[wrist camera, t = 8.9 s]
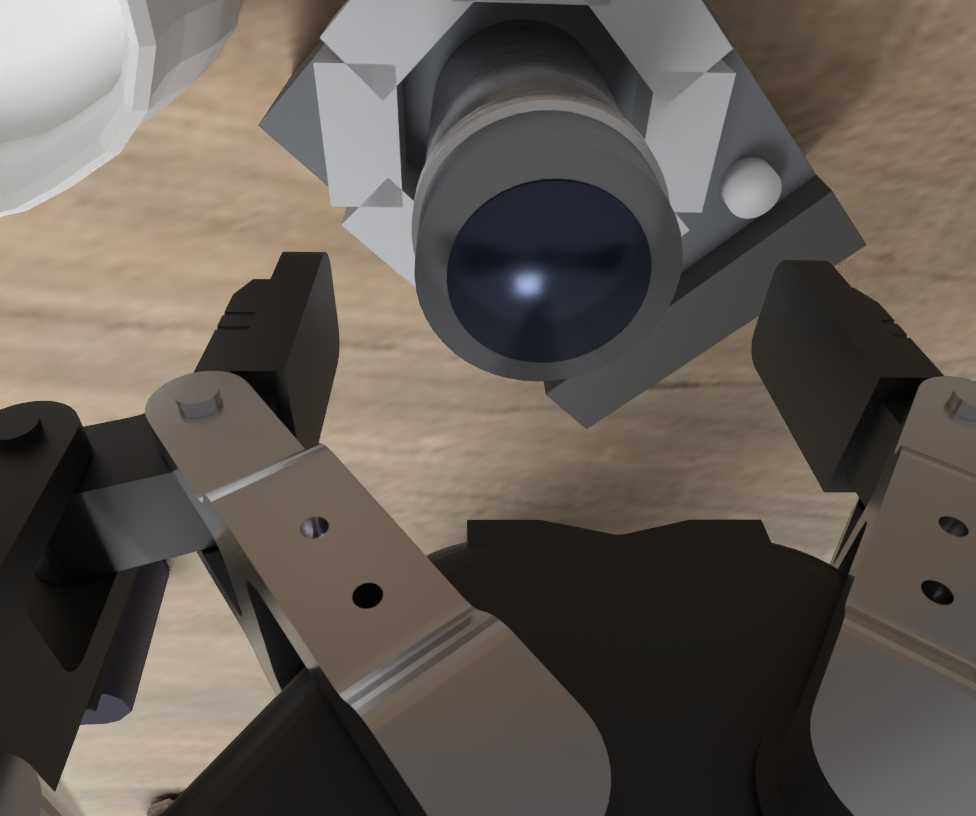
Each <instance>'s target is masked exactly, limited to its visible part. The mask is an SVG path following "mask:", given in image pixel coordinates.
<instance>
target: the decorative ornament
mask: <svg viewBox="0 0 976 816" xmlns="http://www.w3.org/2000/svg"><path fill="white" fill-rule="evenodd" d="M174 801H175V800H171V799H166V800H163V801H160V802H157V803H154V804H152V805H151V808H149V809H148V812H147V816H160V815H161V814H162V813H163V812H164V811H165V810H166V809H167V808H168V807H169V806H170V805H171V804H172V803H173V802H174Z"/></svg>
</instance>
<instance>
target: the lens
mask: <svg viewBox="0 0 976 816" xmlns="http://www.w3.org/2000/svg"><path fill="white" fill-rule="evenodd" d="M411 235H412V243H413V251H414V254H415V274H414V276H415V284H416V291H417V295H418V299H419V302H420V306H421V308H422V310H423V313H424V315H425V317H426V319H427V321H428V322H429V324H430V326H431V327H432V329H433V331H434V332H435V333H436V334H437V336H438V337H439V338H440V339H441V340H442V342H443V343H444V344H445V345H446V346H447V347H449V348H450V349H451V350H452V351H453V352H454V353H455V354H457V355H458V356H460V357H461V358H462V359H464V360H465V361H467V362H468V363H470V364H472V365H474V366H476V367H478V368H480V369H482V370H485V371H487V372H489V373H492V374H495V375H499V376H502V377H506V378H511V379H517V380H523V381H554V380H561V379H568V378H572V377H576V376H580V375H584V374H587V373H590V372H592V371H595V370H598V369H600V368H602V367H604V366H606V365H608V364H610V363H613V362H614V361H616V360H617V359H619V358H621V357H622V356H624V355H626V354H627V353H628V352H630V351H631V350H632V349H633V348H635V347H636V346H637V345H639V344H640V343H641V342H642V341H643V340H644V339H645V338H646V337H647V336H648V335H649V334H650V333H651V332H652V330H653V329H654V328H655V327H656V326H657V324H658V323H659V322H660V320H661V319H662V317H663V316H664V314H665V313H666V311H667V309H668V308H669V306H670V304H671V301H672V299H673V297H674V295H675V292H676V289H677V286H678V283H679V280H680V275H681V269H682V258H683V246H682V238H681V231H680V228H679V225H678V221H677V218H676V215H675V213H674V211H673V209H672V207H671V205H670V200H669V193H668V188H667V185H666V182H665V178H664V175H663V173H662V171H661V169H660V167H659V164H658V162H657V160H656V158H655V157H654V155H653V153H652V151H651V149H650V148H649V146H648V145H647V143H646V142H645V140H644V139H643V137H642V136H641V134H640V133H639V132H638V131H637V130H636V129H635V127H634V126H633V125H632V124H631V123H630V122H629V121H628V120H627V119H625V118H624V116H623V114H622V112H621V110H620V108H619V107H618V105H617V103H616V101H615V99H614V97H613V95H612V93H611V91H610V90H609V88H608V86H607V84H606V82H605V80H604V78H603V76H602V75H601V73H600V71H599V69H598V67H597V65H596V63H595V61H594V60H593V58H592V57H591V55H590V54H589V52H588V51H587V50H586V49H585V48H584V47H583V45H582V44H581V43H580V42H579V41H577V40H576V39H575V38H574V37H573V36H571V35H570V34H569V33H567V32H565V31H564V30H562V29H560V28H558V27H556V26H553V25H551V24H549V23H545V22H541V21H537V20H528V19H518V20H508V21H503V22H499V23H496V24H493V25H490V26H488V27H486V28H484V29H482V30H480V31H478V32H476V33H475V34H473V35H472V36H471V37H469V38H468V39H466V40H465V41H464V42H463V43H462V44H461V45H460V46H459V47H458V48H457V49H456V50H455V51H454V53H453V54H452V55H451V56H450V58H449V59H448V61H447V62H446V64H445V66H444V67H443V69H442V71H441V73H440V76H439V78H438V80H437V83H436V87H435V90H434V95H433V101H432V108H431V117H430V126H429V136H428V145H427V154H426V163H425V166H424V168H423V170H422V172H421V175H420V178H419V181H418V184H417V188H416V193H415V199H414V206H413V213H412V232H411Z"/></svg>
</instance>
